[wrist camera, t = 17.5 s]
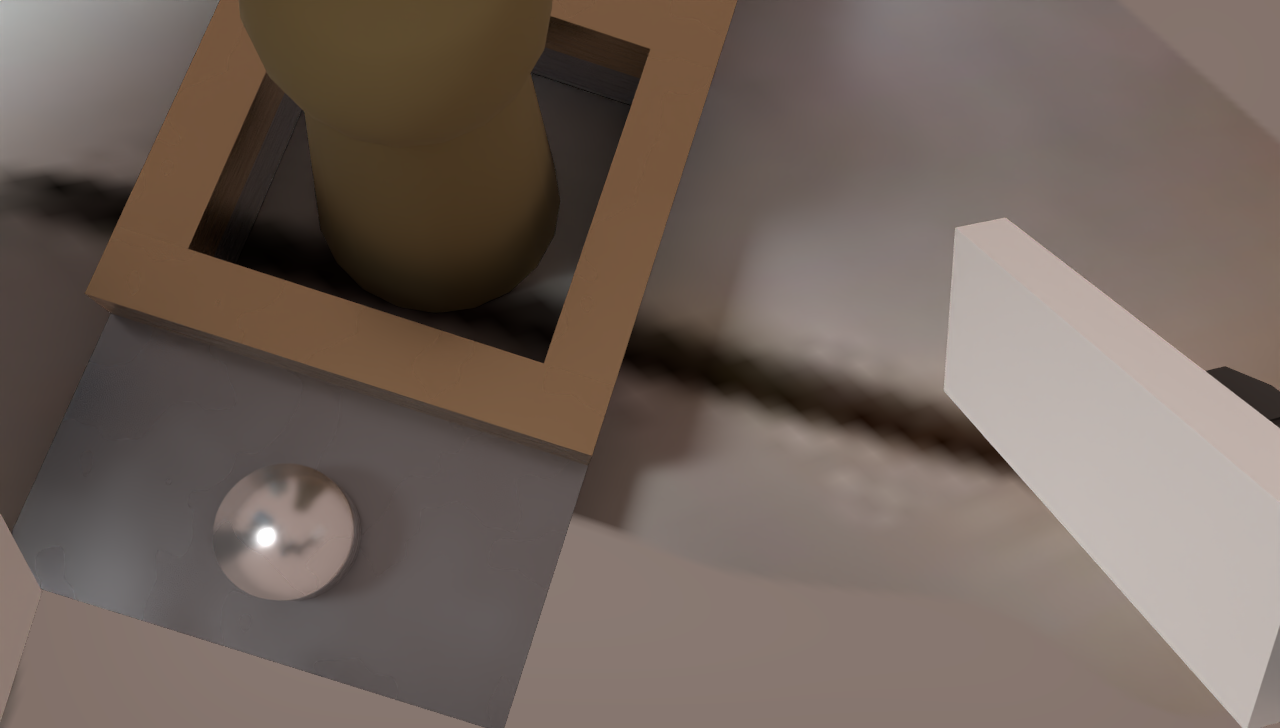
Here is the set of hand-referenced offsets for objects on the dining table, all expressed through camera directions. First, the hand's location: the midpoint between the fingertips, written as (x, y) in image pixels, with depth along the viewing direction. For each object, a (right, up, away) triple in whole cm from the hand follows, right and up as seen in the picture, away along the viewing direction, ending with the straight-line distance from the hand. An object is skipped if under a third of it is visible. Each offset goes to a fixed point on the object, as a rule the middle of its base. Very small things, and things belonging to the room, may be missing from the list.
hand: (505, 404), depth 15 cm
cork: (-3, +5, +13) cm, 14 cm away
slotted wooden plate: (-3, +5, +13) cm, 14 cm away
